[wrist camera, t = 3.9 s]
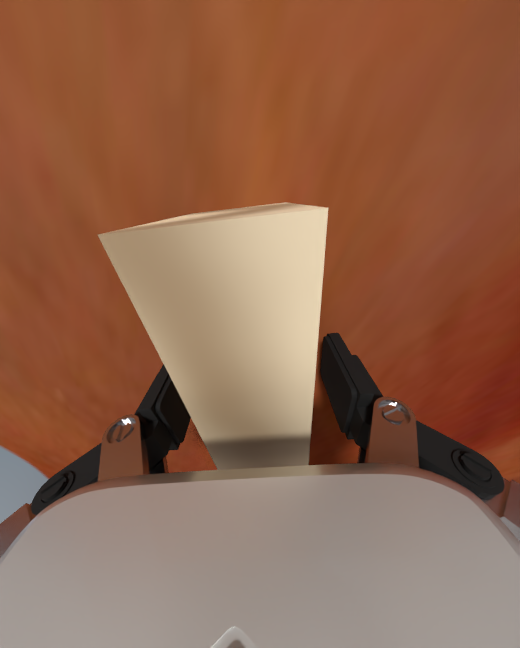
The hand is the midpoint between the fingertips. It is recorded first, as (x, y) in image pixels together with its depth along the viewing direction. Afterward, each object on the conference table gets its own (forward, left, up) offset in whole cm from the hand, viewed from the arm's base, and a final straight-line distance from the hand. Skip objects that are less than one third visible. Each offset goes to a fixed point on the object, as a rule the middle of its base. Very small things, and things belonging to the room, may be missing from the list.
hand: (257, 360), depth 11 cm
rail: (0, +1, -1) cm, 2 cm away
